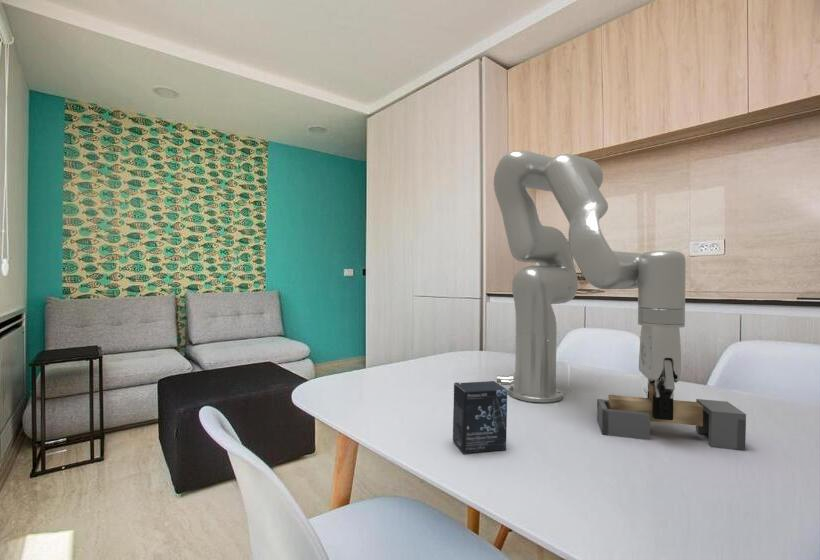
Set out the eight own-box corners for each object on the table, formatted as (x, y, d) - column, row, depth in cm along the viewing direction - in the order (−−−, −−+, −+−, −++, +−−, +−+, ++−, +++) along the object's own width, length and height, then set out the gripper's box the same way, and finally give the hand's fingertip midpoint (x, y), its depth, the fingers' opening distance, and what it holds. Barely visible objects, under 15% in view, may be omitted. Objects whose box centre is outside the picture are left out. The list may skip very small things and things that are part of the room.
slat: (610, 417, 79) (611, 383, 79) (608, 412, 82) (608, 379, 82) (702, 426, 75) (703, 390, 75) (696, 420, 78) (697, 385, 77)
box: (463, 455, 69) (464, 391, 68) (452, 441, 74) (452, 382, 74) (507, 451, 70) (508, 388, 70) (493, 437, 76) (494, 379, 76)
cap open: (602, 434, 78) (602, 410, 78) (597, 420, 85) (597, 398, 85) (649, 439, 75) (650, 415, 75) (640, 425, 82) (640, 402, 82)
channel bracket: (710, 446, 73) (711, 411, 72) (695, 431, 80) (696, 398, 80) (745, 450, 71) (746, 414, 71) (726, 434, 78) (727, 401, 78)
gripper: (629, 313, 87) (628, 401, 87) (649, 321, 71) (648, 429, 71) (670, 314, 84) (669, 404, 85) (700, 323, 69) (699, 434, 69)
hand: (659, 414), depth 78 cm, fingers closed on slat, 3 cm apart
